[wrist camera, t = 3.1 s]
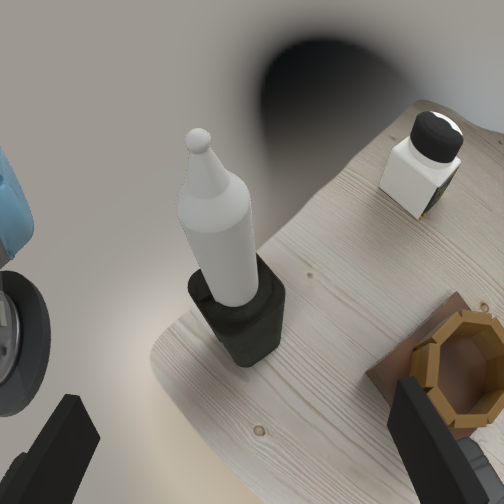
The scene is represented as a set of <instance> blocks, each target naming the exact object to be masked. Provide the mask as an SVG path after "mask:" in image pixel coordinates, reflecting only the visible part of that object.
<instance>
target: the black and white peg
mask: <svg viewBox="0 0 504 504" xmlns="http://www.w3.org/2000/svg"><path fill="white" fill-rule="evenodd" d="M210 143H211V137H210V135H209V133H208V132H207V131H205V130H203V129H200V128H195V129H192V130H190V131H189V132H188V133H187V135H186V136H185V139H184V144H185V147H186V148H187V149H188V150H189V151H190V152H189V160H188V169H187V177H186V181H185V183H184V184H183V186H182V188H181V189H180V191H179V193H178V195H177V199H176V211H177V216H178V218H179V220H180V223H181V225H182V227H183V229H184V232H185V234H186V237H187V239H188V241H189V243H190V246H191V248H192V250H193V253H194V255H195V257H196V259H197V262H198V264H199V266H200V269H199V270H197V271H196V272H195V273H193V275H192V276H191V277H190V279H189V281H188V292H189V294H190V296H191V297H192V299H193V301H194V302H195V304H196V305H197V307H198V309H199V310H200V312H201V313H202V315H203V316H204V318H205V319H206V321H207V323H208V324H209V326H210V327H211V329H212V330H213V332H214V333H215V335H216V336H217V338H218V339H219V341H220V342H222V343H223V345H224V346H225V348H226V349H227V350H228V352H229V353H230V355H231V356H232V358H233V359H234V361H235V362H236V364H237V365H239V366H241V367H251V366H252V365H254V364H255V363H257V362H258V361H260V360H261V359H262V358H264V357H265V356H266V355H268V354H269V353H271V352H272V351H273V350H275V349H276V348H277V347H278V345H279V344H280V339H281V330H282V321H283V312H284V303H285V288H284V285H283V284H282V282H281V281H280V280H279V278H278V277H277V276H276V275H275V274H274V273H273V272H272V270H271V269H270V268H269V267H268V266H267V265H266V263H265V262H264V261H263V260H262V259H261V258H260V256H259V255H258V254H257V253H256V251H255V241H254V231H253V221H252V210H251V200H250V195H249V191H248V188H247V186H246V185H245V184H244V182H243V181H242V180H241V179H240V178H238V177H237V176H236V175H234V174H233V173H231V172H229V171H227V170H225V168H224V167H223V165H222V164H221V162H220V161H219V159H218V158H217V156H216V155H215V154H214V152H213V151H212V149H211V148H210V146H209V145H210Z"/></svg>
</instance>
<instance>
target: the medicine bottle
mask: <svg viewBox="0 0 504 504" xmlns="http://www.w3.org/2000/svg"><path fill="white" fill-rule="evenodd" d="M462 144H463V136H462V133H461V131H460V129H459V128H458V126H457V125H456V124H455V123H454V122H453V121H451V120H450V119H449V118H447V117H445V116H443V115H441V114H439V113H436V112H430V111H427V112H422V113H420V114H418V115H417V117H416V120H415V123H414V125H413V128H412V131H411V134H410V136H408V137H407V138H406V139H404V140H403V141H402V142H400V143H399V144H398V145H396V146H395V147H394V148H393V149H392V150H391V153H390V156H389V159H388V161H387V164H386V167H385V170H384V172H383V175H382V178H381V180H380V183H379V187H380V188H381V189H382V190H383V191H384V192H386V193H387V194H388V195H389V196H390V197H392V198H393V199H394V200H395V201H396V202H397V203H399V204H400V205H401V206H402V207H403V208H404V209H406V210H407V211H408V212H409V213H410V214H411V215H413V216H414V217H415V218H416V219H417V220H420V219H421V218H422V217H423V216H424V215H425V214H426V213H427V212H428V210H429V209H430V208H431V207H432V206H433V205H434V204H435V203H436V202H437V200H438V199H439V198H440V197H441V196H442V195H443V193H444V191H445V190H446V188H447V186H448V185H449V183H450V181H451V180H452V178H453V176H454V174H455V173H456V171H457V169H458V167H459V166H460V164H461V161H460V159H458V158H457V157H456V155H457V153H458V151H459V149H460V147H461V146H462Z"/></svg>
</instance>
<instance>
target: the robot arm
mask: <svg viewBox="0 0 504 504" xmlns="http://www.w3.org/2000/svg"><path fill="white" fill-rule="evenodd" d="M33 231H34V221H33V217H32V214H31V210H30V207H29V205H28V202H27V200H26V197H25V195H24V193H23V190H22V188H21V186H20V184H19V181H18V179H17V177H16V175H15V173H14V171H13V169H12V167H11V165H10V163H9V161H8V159H7V157H6V155H5V154H4V152H3V150H2V149H1V147H0V269H1V268H2V267H3V266H4V265H5V264H7V263H8V262H9V261H10V260H13V258H14V257H15V254H16V253H17V252H18V251H19V250H20V249H21V248H22V247H23V246H24V245H25V244H26V243H27V242H28V241H29V240H30V239H31V237H32V235H33ZM22 344H23V322H22V317H21V313H20V310H19V308H18V306H17V304H16V302H15V301H14V300H13V298H12V297H10V296H9V295H7V294H6V293H4V292H3V291H1V290H0V387H1V386H2V385H4V384H5V383H6V382H7V381H8V380H9V378H10V377H11V376H12V374H13V372H14V371H15V369H16V366H17V364H18V361H19V358H20V354H21V350H22ZM387 427H388V429H389V431H390V434H391V436H392V438H393V440H394V443H395V445H396V447H397V449H398V452H399V454H400V456H401V458H402V461H403V463H404V465H405V468H406V470H407V472H408V475H409V477H410V479H411V482H412V484H413V486H414V489H415V491H416V494H417V496H418V498H419V501H420V503H421V504H504V485H503V483H502V481H501V480H500V478H499V477H498V475H497V473H496V472H495V470H494V468H493V467H492V465H491V464H490V463H489V460H488V459H487V457H486V456H485V455H484V453H483V451H482V450H481V448H480V447H479V445H478V443H476V442H475V441H473V440H472V439H471V438H469V437H468V436H466V437H464V438H461V439H459V440H455V439H454V437H453V435H452V434H451V432H450V430H449V429H448V427H447V426H446V424H445V423H444V421H443V419H442V418H441V416H440V415H439V413H438V412H437V410H436V408H435V407H434V405H433V404H432V402H431V401H430V399H429V398H428V396H427V395H426V393H425V392H424V390H423V389H422V387H421V386H420V384H419V383H418V381H417V380H416V378H415V377H414V376H412V377H408V378H403V379H399V380H397V385H396V389H395V394H394V398H393V403H392V407H391V411H390V415H389V419H388V423H387ZM99 440H100V436H99V434H98V432H97V430H96V428H95V426H94V425H93V423H92V421H91V419H90V417H89V415H88V413H87V411H86V409H85V407H84V405H83V403H82V401H81V398H80V396H77V395H70V394H65V395H64V397H63V398H62V400H61V401H60V403H59V404H58V406H57V407H56V409H55V410H54V412H53V413H52V415H51V416H50V418H49V420H48V421H47V423H46V424H45V426H44V427H43V429H42V430H41V432H40V434H39V435H38V437H37V438H36V440H35V441H34V443H33V445H32V446H31V448H30V449H29V451H28V453H24V452H22V453H21V454H20V455H19V456H17V457H16V458H15V459H14V461H13V462H12V464H11V465H10V467H9V469H8V470H7V472H6V474H5V476H4V477H3V479H2V480H1V482H0V504H72V502H73V500H74V497H75V495H76V492H77V490H78V488H79V485H80V483H81V481H82V478H83V476H84V474H85V472H86V469H87V467H88V465H89V463H90V460H91V458H92V456H93V454H94V451H95V449H96V447H97V445H98V443H99Z"/></svg>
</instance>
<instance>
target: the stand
mask: <svg viewBox="0 0 504 504" xmlns="http://www.w3.org/2000/svg"><path fill="white" fill-rule="evenodd" d="M366 373H367V374H368V376H369V377H370V378H371V380H372V381H373V383H374V384H375V385H376V387H377V388H378V389H379V391H380V392H381V394H382V395H383V396H384V398H385V399H386V401H387V402H388V403H389V405H390V406H391V407H392V403H393V398H394V394H395V389H396V385H397V380H399V379H403V378H408V377H412V376H414V377H415V378H416V380H417V381H418V383H419V384H420V386H421V387H422V389H423V390H424V392H425V393H426V395H427V396H428V398H429V399H430V401H431V402H432V404H433V405H434V407H435V408H436V410H437V412H438V413H439V415H440V416H441V418H442V419H443V421H444V423H445V424H446V426H447V427H448V429H449V430H450V432H451V434H452V435H453V437H454V439H455V440H459V439H461V438H464V437H466V436H468V437H470V436H471V434H472V433H473V432H474V431H475V430H476V429H477V428H478V427H486V425H487V424H491V423H492V422H493V421H494V420H495V418H496V417H497V416H498V415H499V413H500V412H501V411H502V409H503V408H504V328H503V326H502V325H501V323H500V322H499V321H498V319H497V318H496V317H494V318H493V319H492V316H491V314H490V313H483V312H476V311H471V309H470V308H469V307H468V305H467V304H466V303H465V301H464V300H463V299H462V297H461V296H460V295H459V293H458V292H457V291H456V292H455V293H454V294H453V295H451V296H450V297H449V298H448V299H447V300H446V301H445V302H444V303H443V304H442V305H440V306H439V307H438V308H437V309H436V310H435V311H434V312H433V313H432V314H431V315H430V316H429V317H428V318H427V319H426V320H425V321H424V322H423V323H422V324H421V325H420V326H418V327H417V328H416V329H415V330H414V331H413V332H412V333H411V334H410V335H408V336H407V337H406V338H405V339H404V340H403V341H402V342H400V343H399V344H398V345H397V346H396V347H395V348H394V349H392V350H391V351H390V352H389V353H388V354H386V355H385V356H384V357H383V358H382V359H380V360H379V361H378V362H377V363H375V364H374V365H373V366H372V367H370V368H369V369H368V370H367V371H366Z"/></svg>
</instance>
